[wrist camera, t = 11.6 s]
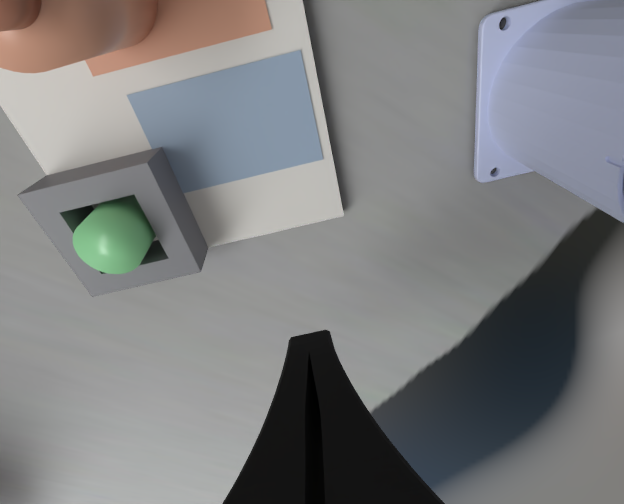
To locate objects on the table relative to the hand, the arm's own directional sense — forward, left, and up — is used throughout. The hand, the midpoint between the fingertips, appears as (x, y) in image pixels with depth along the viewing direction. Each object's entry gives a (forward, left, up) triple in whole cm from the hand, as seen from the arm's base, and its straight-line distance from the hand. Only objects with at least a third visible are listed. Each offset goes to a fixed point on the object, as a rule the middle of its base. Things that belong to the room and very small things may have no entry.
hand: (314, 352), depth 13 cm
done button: (+9, -3, -9) cm, 13 cm away
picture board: (+5, -8, -10) cm, 14 cm away
